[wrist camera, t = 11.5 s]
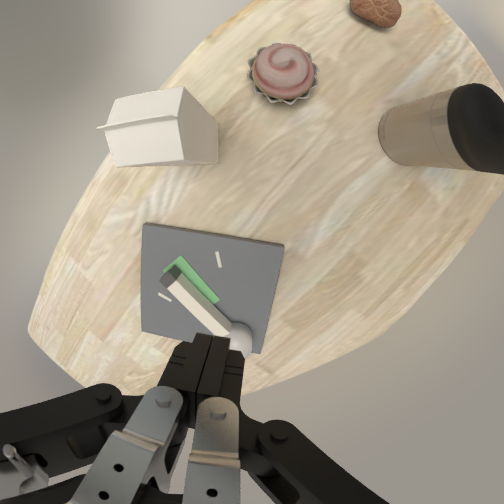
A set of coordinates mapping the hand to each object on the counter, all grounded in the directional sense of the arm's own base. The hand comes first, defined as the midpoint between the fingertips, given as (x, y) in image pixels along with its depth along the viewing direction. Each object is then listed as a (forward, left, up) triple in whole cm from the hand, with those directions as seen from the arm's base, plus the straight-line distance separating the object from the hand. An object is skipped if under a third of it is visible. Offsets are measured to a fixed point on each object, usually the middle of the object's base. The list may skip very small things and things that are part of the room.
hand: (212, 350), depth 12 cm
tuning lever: (+3, +14, -27) cm, 31 cm away
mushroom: (-14, -38, -30) cm, 50 cm away
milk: (+8, -10, -30) cm, 32 cm away
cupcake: (-2, -21, -30) cm, 36 cm away
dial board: (+4, +12, -29) cm, 32 cm away
